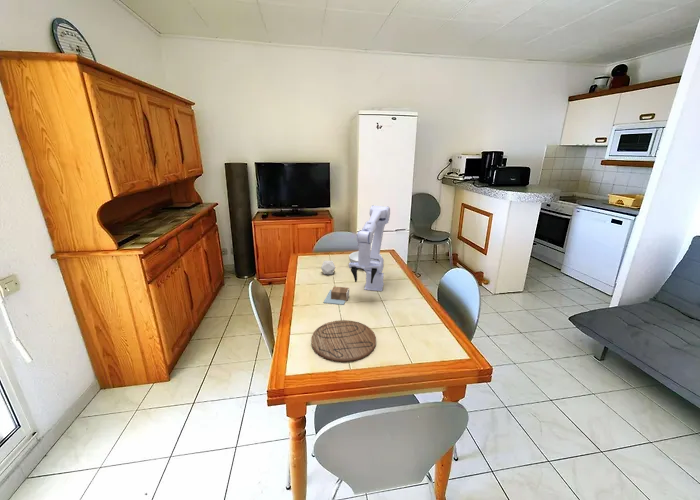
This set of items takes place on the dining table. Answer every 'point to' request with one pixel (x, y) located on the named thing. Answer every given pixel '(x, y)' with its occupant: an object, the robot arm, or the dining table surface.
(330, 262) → the die
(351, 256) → the serving bowl
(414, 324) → the dining table surface
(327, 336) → the trivet
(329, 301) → the mat
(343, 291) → the block
